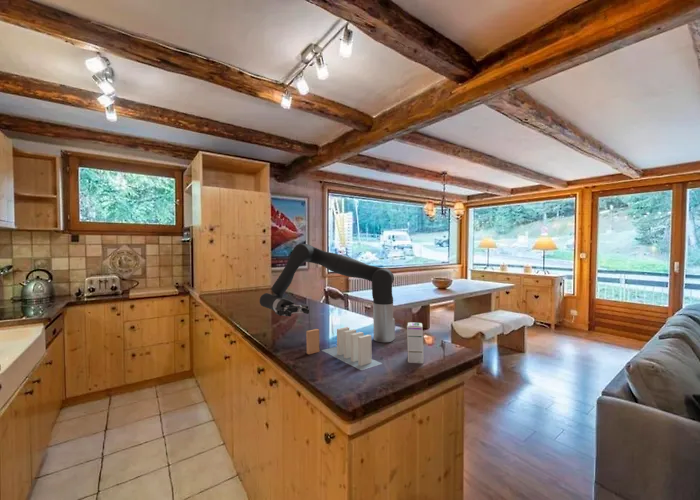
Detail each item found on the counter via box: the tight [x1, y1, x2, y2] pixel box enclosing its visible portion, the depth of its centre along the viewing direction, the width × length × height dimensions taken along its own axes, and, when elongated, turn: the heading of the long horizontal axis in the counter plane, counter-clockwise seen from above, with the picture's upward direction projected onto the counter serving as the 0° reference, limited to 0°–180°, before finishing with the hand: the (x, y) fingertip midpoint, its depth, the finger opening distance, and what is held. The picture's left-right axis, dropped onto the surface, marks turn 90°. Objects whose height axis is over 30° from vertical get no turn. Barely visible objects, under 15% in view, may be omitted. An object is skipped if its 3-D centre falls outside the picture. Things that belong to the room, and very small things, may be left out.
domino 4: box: [351, 331, 365, 362], centre depth 114 cm, size 5×2×10 cm, turn 127°
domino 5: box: [358, 334, 373, 366], centre depth 110 cm, size 5×2×10 cm, turn 127°
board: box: [321, 346, 383, 371], centre depth 118 cm, size 10×26×1 cm, turn 37°
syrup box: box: [406, 321, 424, 364], centre depth 113 cm, size 6×6×14 cm
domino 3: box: [344, 328, 357, 359], centre depth 118 cm, size 5×2×10 cm, turn 127°
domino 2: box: [336, 326, 350, 355], centre depth 121 cm, size 5×2×10 cm, turn 127°
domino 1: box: [305, 328, 320, 355], centre depth 123 cm, size 5×2×10 cm, turn 127°
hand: (299, 312), depth 132 cm, fingers open, 8 cm apart
